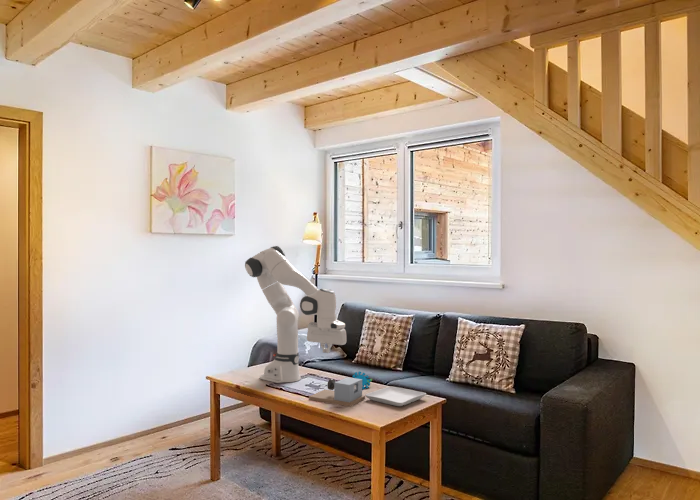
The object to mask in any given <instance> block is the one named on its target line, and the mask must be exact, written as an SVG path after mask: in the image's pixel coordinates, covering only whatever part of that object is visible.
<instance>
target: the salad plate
mask: <svg viewBox="0 0 700 500" xmlns="http://www.w3.org/2000/svg"><path fill="white" fill-rule="evenodd" d="M426 395H427V393H426V392H423V391H418V390H413V389H408V388H403V387H398V386H392V385H390V386H387V387H384V388H380V389H377V390H374V391H371V392H367V393H365V394H364V396H365V398H367V399H369V400H370V401H374V402H376V403H377V402H378V403H381V404H385V405H390V406H395V407H404V406H406V405H409V404H411V402H412V403H414V402H416V401H417V400H420V399H422V398H424V397H425V396H426ZM403 405H404V406H403Z"/></svg>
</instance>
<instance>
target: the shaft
mask: <svg viewBox="0 0 700 500" xmlns="http://www.w3.org/2000/svg"><path fill="white" fill-rule="evenodd" d="M335 382H336V380H335V379H334V378H329V379H328V381H327V383H326V384H327V385H326V386H327V390H332V391H334V383H335ZM356 390H357V385H354V391H356Z"/></svg>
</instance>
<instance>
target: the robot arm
mask: <svg viewBox="0 0 700 500" xmlns="http://www.w3.org/2000/svg"><path fill="white" fill-rule="evenodd" d="M244 262H245V263H244V268H245V270H246V273H247V275H249V276H250V277H251V278H256V280H257V282H258V284H259V287H260V289H261V291H262V293H263V295H264V298H266V300H267V302H268V304H269V305H270V306H271V308H272V310H273V311H274V313H275V314H276V333H277V334H276V335H277V337H276V339H277V343H276V344H277V345H276V346H277V351H276V353H274V354H272V355H273V357H274V360H272V361H271V362H270V363H268V364H267V365H266V366H265V368H264V371H263V374H261V375H260V376H259V379H260V380H263V381H268V382H272V383H276V384H281V383H293V382H299V381H300V380H301V378H302V377H301V375H300V373H301V372H300V368H299V361H300V354H299V330H298V329H299V327H298V326H299V325H298V324H299V323H298V321H299V317H300V313H299V310H298V309H297V307H296V305H295V303H294V302H293V300H292V298H291V297H290V295H289V294H288V292H287V290H286V288H285V287H284V286H290V287H293V288H297V289H299V290H301V291H302V292H303V293H304V294H305V296H303V297H302V298H301V300H300V301H299V302H300V303H299V309H300V311H301V312H302V314H303V315H306V316H313V315H314V316H317V317H316V322H315V321H314V322H313V321H310V322H309V323H307V331H306V332H307V335H306V340H307V341H308V342H311V343H319V344H320V347H321V349H322V353H325V354H330V353H331V352H330V351H331V348H332V347H333V345H338V346H343V345H346V343H347V331H346V329H345V328H346V323H345V322H343V321H341V320H339V319H337V317H336V309H337V297H336V293H335V291H334V290H332V289H328V288H320V289H319V288H318V287H317V286H316V285H315V284H314V283H313V282H312V281H311V280H310V279H309V278H308V277H307V276H306V275H304V274H303V273H302V272H301V271H299V270H298V268H296V267H295V266H294V265H293V264H292V263H291V262H290V261H289V260H288V259H287V257H286V253H285V252H284V250H283V248H281V247H280V246H279V245H275V246H274V245H273V246H270V247H269V248H266V249H264V250H262V251H259V253H257V254H255V255H253V256H252V257H249V258H248V259H247V260H246V261H244ZM325 345H327V347H326V346H325Z"/></svg>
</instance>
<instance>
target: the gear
mask: <svg viewBox="0 0 700 500" xmlns="http://www.w3.org/2000/svg"><path fill="white" fill-rule="evenodd" d="M369 377H370V376H369V375H366V373H365V372H362V371H358V372H357V371H355V372H354V374H353V375H352V377H351V378H357V379H362V390H365V389H368V388H369V386H370V385H371V383H372V381H373V378H370V379H369Z"/></svg>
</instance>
